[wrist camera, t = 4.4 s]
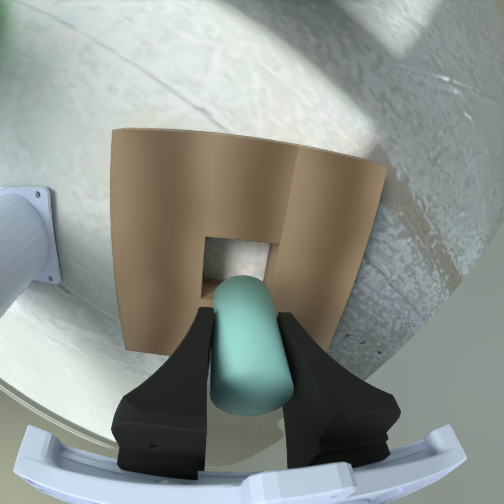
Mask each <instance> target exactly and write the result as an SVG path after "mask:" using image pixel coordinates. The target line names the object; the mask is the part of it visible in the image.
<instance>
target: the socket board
mask: <svg viewBox="0 0 504 504" xmlns="http://www.w3.org/2000/svg"><path fill="white" fill-rule="evenodd" d="M387 168H388V167H386V166H383V165H380V164H378V163H375V162H372V161H370V160H366V159H362V158H358V157H354V156H350V155H346V154H342V153H337V152H333V151H328V150H324V149H319V148H314V147H309V146H304V145H299V144H293V143H288V142H282V141H276V140H270V139H263V138H256V137H249V136H241V135H233V134H224V133H215V132H204V131H192V130H178V129H158V128H122V129H115V130H112V143H111V165H110V216H111V238H112V253H113V265H114V275H115V284H116V292H117V300H118V307H119V314H120V320H121V326H122V332H123V338H124V343H125V348H126V350H131V351H137V352H144V353H151V354H159V355H168V356H171V355H172V354H173V352H174V351H175V350H176V348H177V347H178V346H179V344H180V343H181V341H182V340H183V338H184V337H185V335H186V334H187V332H188V330H189V328H190V327H191V325H192V323H193V321H194V319H195V316H196V314H197V311H198V308H199V307H212V308H213V296H214V292H215V290H216V289H217V287H218V286H219V285H220V284H221V283H222V282H223V280H212V279H203V268H204V256H205V244H206V237H217V238H227V239H237V240H248V241H258V242H267V243H270V248H269V254H268V259H267V264H266V269H265V274H264V279H263V283H264V284H265V285H266V286H267V287H268V289H269V291H270V294H271V298H272V302H273V306H274V310H275V314H276V318H277V316H278V312H290V313H292V315H293V316H294V317H295V318H296V319H297V321H298V322H299V323H300V324H301V326H302V327H303V328H304V329H305V331H306V332H307V333H308V334H309V335H310V336H311V337H312V339H313V340H314V341H315V342H316V343H317V344H318V345H319V346H320V347H321V348H322V349H323V350H324V351H325V352H327V350H328V347H329V345H330V343H331V340H332V338H333V336H334V333H335V331H336V328H337V326H338V323H339V321H340V318H341V316H342V313H343V311H344V308H345V306H346V303H347V300H348V298H349V295H350V292H351V290H352V287H353V284H354V281H355V278H356V276H357V273H358V270H359V267H360V264H361V261H362V258H363V255H364V252H365V249H366V245H367V242H368V239H369V236H370V232H371V229H372V226H373V222H374V219H375V215H376V212H377V208H378V204H379V201H380V197H381V193H382V189H383V185H384V181H385V177H386V173H387ZM210 360H211V357H210Z"/></svg>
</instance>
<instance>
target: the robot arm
mask: <svg viewBox="0 0 504 504" xmlns="http://www.w3.org/2000/svg"><path fill="white" fill-rule="evenodd" d="M38 191H39V192H40V196H39V195H38ZM50 276H51V277H52V278H51V277H50ZM32 280H35V281H40V282H46V283H51V284H59V283H60V282H61V274H60V268H59V263H58V257H57V251H56V244H55V237H54V229H53V221H52V210H51V197H50V191H49V189H48V188H47V187H0V319H1V317H2V316H3V315H4V314H5V312H6V311H7V310H8V308H9V307H10V306H11V305H12V304H13V302H14V301H15V300H16V299H17V298H18V296H19V295H20V294H21V293H22V292H23V290H24V289H25V288H26V287H27V286H28V285H29V284H30V282H31V281H32ZM213 321H214V308H212V307H199V308H198V311H197V314H196V316H195V319H194V321H193V323H192V325H191V327H190V328H189V330H188V332H187V334H186V335H185V337H184V338H183V340H182V341H181V343H180V344H179V346H178V347H177V348H176V350H175V351H174V352H173V354H172V355H171V356H170V357H169V358H168V360H167V361H166V362H165V363H164V364H163V365H162V366H161V367H160V368H159V369H158V370H157V371H156V372H155V373H154V374H153V375H152V376H150V377H149V378H148V379H147V380H146V381H144V382H143V383H142V384H141V385H139V386H138V387H137V388H135V389H134V390H132V391H131V392H129V393H128V394H126V395H125V396H123V398H122V400H121V401H120V403H119V405H118V407H117V410H116V412H115V415H114V418H113V423H112V427H111V431H112V434H113V436H114V438H115V439H116V441H117V443H118V445H119V447H120V448H119V454H118V459H114V458H110V457H106V456H102V455H98V454H94V453H91V452H87V451H84V450H80V449H77V448H74V447H71V446H68V445H65V444H62V443H61V442H60V440H59V439H58V438H57V437H56V436H55V435H53V434H52V433H50V432H48V431H45V430H42V429H40V428H37V427H35V426H32V425H28V427H27V430H26V433H25V435H24V438H23V441H22V444H21V447H20V450H19V453H18V456H17V459H16V463H15V466H14V469H13V471H14V472H15V473H16V474H17V475H19V476H20V477H21V478H23V479H24V480H25V481H27V482H28V483H30V484H31V485H32V486H34V487H35V488H37V489H39V490H40V491H42V492H44V493H46V494H48V495H51V496H53V497H55V498H58V499H60V500H63V501H65V502H68V503H70V504H387V503H389V502H392V501H394V500H397V499H399V498H401V497H404V496H406V495H408V494H410V493H412V492H415V491H417V490H419V489H421V488H423V487H425V486H427V485H429V484H431V483H433V482H435V481H437V480H439V479H440V478H442V477H443V476H445V475H446V474H448V473H449V472H450V471H452V470H453V469H454V468H456V467H457V466H459V465H460V464H461V463H462V462H464V461H465V460H466V459H467V457H466V455H465V453H464V451H463V449H462V447H461V446H460V443H459V441H458V439H457V437H456V435H455V433H454V432H453V430H452V428H451V426H450V424H447V425H445V426H443V427H440V428H437V429H435V430H433V431H431V432H430V433H429V434H428V435H427V436H426V437H425V438H424V439H423V440H420V441H417V442H414V443H411V444H408V445H405V446H402V447H399V448H396V449H393V450H389V449H388V446H387V444H386V441H387V440H388V436H387V433H386V432H387V431H388V430H389V429H390V428H391V427H392V426H393V425H394V423H395V422H396V421H397V420H398V419H399V417H400V414H401V411H400V408H399V407H398V404H397V402H396V400H395V398H394V397H393V395H391V394H389V393H387V392H384V391H382V390H380V389H378V388H375V387H373V386H371V385H370V384H368V383H366V382H364V381H363V380H361V379H359V378H358V377H356V376H355V375H353V374H352V373H350V372H349V371H347V370H346V369H345V368H343V367H342V366H341V365H340V364H338V363H337V362H336V361H335V360H334V359H332V358H331V357H330V356H329V355H328V354H327V353H326V352H325V351H324V350H323V349H322V348H321V347H320V346H319V345H318V344H317V343H316V342H315V341H314V340H313V339H312V337H311V336H310V335H309V334H308V333H307V332H306V331H305V329H304V328H303V327H302V326H301V324H300V323H299V322H298V321H297V319H296V318H295V317H294V316H293V315H292V313H290V312H278V316H277V322H278V326H279V330H280V334H281V338H282V342H283V346H284V350H285V354H286V358H287V362H288V366H289V370H290V374H291V378H292V382H293V386H294V392H293V395H292V397H291V399H290V400H289V401H288V402H287V403H286V404H285V405H283V414H284V422H285V433H286V447H287V465H288V466H287V467H288V469H282V470H272V471H262V472H209V471H204V467H205V452H206V435H207V379H208V372H209V364H210V357H211V340H212V332H213Z"/></svg>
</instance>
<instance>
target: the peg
mask: <svg viewBox="0 0 504 504" xmlns="http://www.w3.org/2000/svg"><path fill="white" fill-rule="evenodd" d="M213 308H214V321H213V332H212V340H211V383H210V397H211V400H212V402H213V403H214V405H215V406H216V407H218V408H219V409H221V410H223V411H225V412H227V413H230V414H234V415H241V416H254V415H261V414H265V413H269V412H272V411H274V410H276V409H278V408H280V407H282V406H283V405H285V404H286V403H287V402H288V401H289V400H290V399H291V397H292V395H293V392H294V386H293V382H292V378H291V374H290V370H289V366H288V362H287V358H286V354H285V350H284V346H283V342H282V338H281V334H280V330H279V326H278V322H277V318H276V314H275V310H274V306H273V302H272V298H271V294H270V291H269V289H268V287H267V286H266V285H265V284H264V283H263V282H262V281H261V280H259V279H257V278H255V277H251V276H235V277H231V278H229V279H227V280H225V281H223V282H222V283H221V284H220V285H219V286H218V287H217V289H216V290H215V292H214V296H213Z"/></svg>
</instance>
